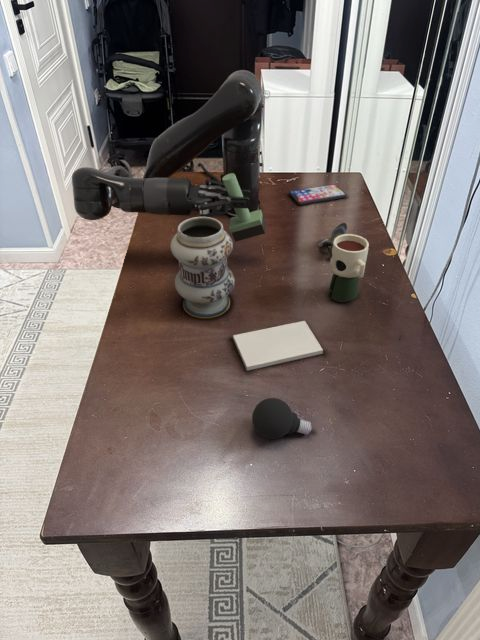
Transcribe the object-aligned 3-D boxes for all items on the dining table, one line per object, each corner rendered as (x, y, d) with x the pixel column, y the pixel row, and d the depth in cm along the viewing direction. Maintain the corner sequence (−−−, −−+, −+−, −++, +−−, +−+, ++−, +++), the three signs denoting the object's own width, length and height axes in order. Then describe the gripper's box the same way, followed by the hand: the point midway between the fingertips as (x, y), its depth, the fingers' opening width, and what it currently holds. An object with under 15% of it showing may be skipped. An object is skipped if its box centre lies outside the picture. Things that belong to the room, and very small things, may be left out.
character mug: (316, 285, 109) (322, 233, 100) (343, 278, 111) (352, 226, 102) (340, 314, 102) (349, 260, 93) (370, 306, 104) (381, 253, 95)
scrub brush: (234, 242, 109) (211, 186, 101) (236, 231, 113) (213, 176, 104) (265, 233, 108) (244, 176, 99) (266, 223, 111) (245, 166, 102)
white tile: (246, 370, 89) (246, 367, 89) (232, 339, 96) (232, 335, 95) (322, 353, 93) (323, 349, 92) (304, 324, 99) (304, 320, 99)
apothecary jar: (199, 280, 109) (193, 205, 97) (246, 298, 105) (246, 221, 93) (165, 309, 102) (154, 231, 89) (213, 329, 97) (209, 251, 85)
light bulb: (323, 427, 75) (262, 410, 72) (306, 457, 78) (247, 441, 75) (316, 401, 80) (259, 385, 78) (300, 430, 83) (245, 415, 81)
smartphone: (347, 194, 139) (299, 202, 135) (346, 198, 140) (299, 206, 136) (335, 183, 144) (288, 190, 140) (334, 186, 145) (288, 193, 141)
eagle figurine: (354, 258, 115) (353, 232, 121) (341, 237, 111) (340, 211, 116) (324, 269, 119) (325, 243, 124) (310, 249, 114) (311, 224, 120)
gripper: (174, 197, 112) (250, 200, 112) (164, 229, 102) (248, 231, 102) (171, 165, 107) (250, 168, 107) (160, 194, 97) (248, 197, 97)
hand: (249, 199), depth 105 cm, fingers closed on scrub brush, 3 cm apart
